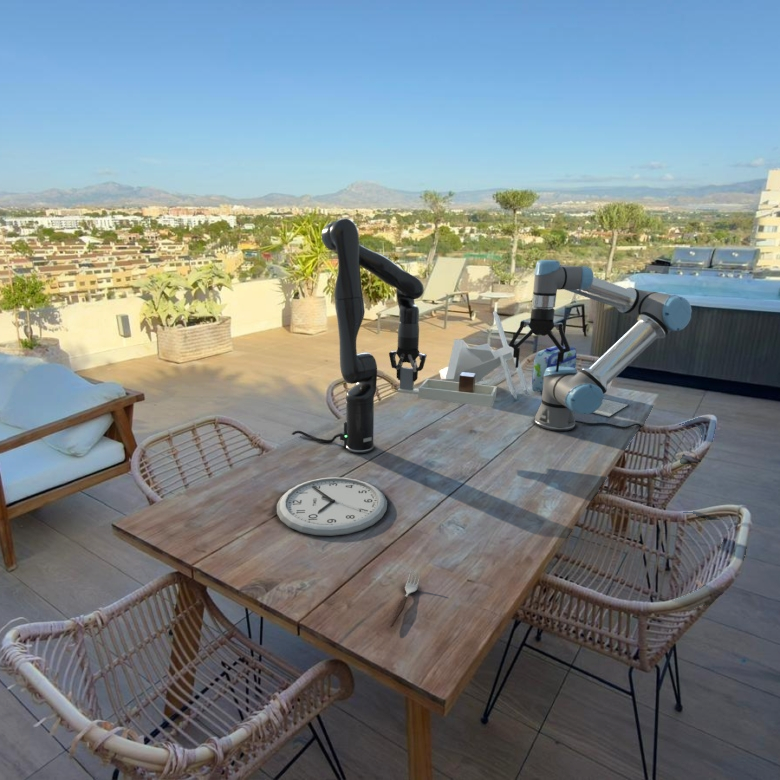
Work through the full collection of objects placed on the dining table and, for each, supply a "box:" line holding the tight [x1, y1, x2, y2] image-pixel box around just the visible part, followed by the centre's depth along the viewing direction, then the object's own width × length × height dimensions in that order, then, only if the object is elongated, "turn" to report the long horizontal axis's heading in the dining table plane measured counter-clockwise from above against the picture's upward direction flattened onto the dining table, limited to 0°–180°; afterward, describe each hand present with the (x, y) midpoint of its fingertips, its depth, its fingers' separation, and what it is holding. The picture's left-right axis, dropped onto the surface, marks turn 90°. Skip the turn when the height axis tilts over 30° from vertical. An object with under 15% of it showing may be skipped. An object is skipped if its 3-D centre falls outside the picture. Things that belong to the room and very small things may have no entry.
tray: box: [397, 366, 498, 408], centre depth 187 cm, size 35×12×9 cm, turn 72°
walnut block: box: [459, 372, 476, 393], centre depth 185 cm, size 5×5×8 cm
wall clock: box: [276, 476, 388, 537], centre depth 142 cm, size 30×2×30 cm
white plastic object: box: [438, 310, 531, 400], centre depth 245 cm, size 37×45×31 cm
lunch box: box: [531, 345, 577, 393], centre depth 245 cm, size 26×11×21 cm, turn 134°
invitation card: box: [592, 398, 629, 418], centre depth 226 cm, size 21×1×15 cm
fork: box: [390, 569, 422, 628], centre depth 106 cm, size 3×16×2 cm, turn 160°
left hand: (406, 380), depth 192 cm, fingers closed on tray, 5 cm apart
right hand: (536, 368), depth 181 cm, fingers open, 13 cm apart
